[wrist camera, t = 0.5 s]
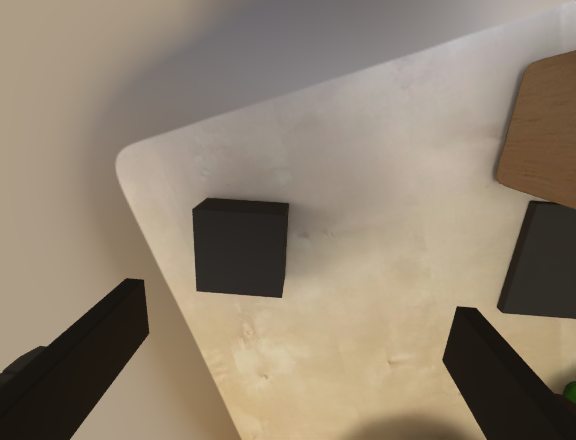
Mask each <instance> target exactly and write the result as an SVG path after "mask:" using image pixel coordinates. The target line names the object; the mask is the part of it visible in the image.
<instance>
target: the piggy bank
mask: <svg viewBox="0 0 576 440" xmlns="http://www.w3.org/2000/svg"><path fill="white" fill-rule="evenodd" d="M563 395H564V396H565V397H567V398H568V399H570V400H571V401H572V402H574V403H575V404H576V382H573V383H570V384H569V385H567V386H566V388H565V390H564V394H563Z"/></svg>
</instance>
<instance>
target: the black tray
mask: <svg viewBox="0 0 576 440" xmlns="http://www.w3.org/2000/svg"><path fill="white" fill-rule="evenodd" d="M497 308H498V309H499V310H500V311H501V312H502V313H508V314H520V315H533V316H546V317H559V318H572V319H576V209H573V208H570V207H567V206H564V205H561V204H558V203H555V202H539V201H530V203H529V206H528V209H527V212H526V216H525V219H524V222H523V225H522V229H521V232H520V235H519V238H518V241H517V245H516V248H515V251H514V254H513V257H512V261H511V264H510V267H509V270H508V273H507V277H506V280H505V283H504V286H503V289H502V293H501V296H500V299H499V302H498V305H497Z"/></svg>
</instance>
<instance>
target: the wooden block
mask: <svg viewBox="0 0 576 440" xmlns="http://www.w3.org/2000/svg"><path fill="white" fill-rule="evenodd" d="M497 181H498V182H499V183H500V184H502V185H504V186H506V187H509V188H512V189H515V190H518V191H521V192H524V193H527V194H530V195H533V196H536V197H539V198H542V199H545V200H548V201H551V202H555V203H558V204H561V205H564V206H567V207H570V208H573V209H576V50H575V51H572V52H568V53H564V54H560V55H556V56H553V57H549V58H545V59H542V60H539V61H536V62H533V63H532V64H530V65H529V66H528V68H527V69H526V71H525V73H524V75H523V78H522V82H521V86H520V89H519V93H518V97H517V100H516V104H515V108H514V111H513V115H512V119H511V122H510V126H509V130H508V134H507V137H506V141H505V145H504V148H503V152H502V156H501V159H500V163H499V167H498V170H497Z"/></svg>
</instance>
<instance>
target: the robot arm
mask: <svg viewBox="0 0 576 440" xmlns="http://www.w3.org/2000/svg"><path fill="white" fill-rule="evenodd" d="M148 334H149V325H148V316H147V306H146V296H145V287H144V280H141V279H129V278H127V279H125V280H124V281H123V282H121V283H120V284H119V285H118V286H117V287H116V288H114V289H113V290H112V291H111V292H110V293H109V294H107V295H106V296H105V297H104V298H103V299H102V300H101V301H99V302H98V303H97V304H96V305H95V306H94V307H93V308H91V309H90V310H89V311H88V312H87V313H85V314H84V315H83V316H82V317H81V318H80V319H79V320H77V321H76V322H75V323H74V324H73V325H72V326H70V327H69V328H68V329H67V330H66V331H65V332H63V333H62V334H61V335H60V336H59V337H58V338H56V339H55V340H54V341H53V342H52V343H51V344H50V345H49V346H47V347H44V346H39V347H37V348H35V349H33V350H31V351H30V352H28V353H26V354H24V355H22V356H20V357H19V358H18V359H16V360H15V361H14V362H13V363H12V364H10V365H9V366H8V367H7V368H5V369H4V370H3V372H2V373H1V374H0V440H70V439H71V437H72V436H73V435H74V433H75V432H76V431H77V429H78V428H79V427H80V425H81V424H82V423H83V421H84V420H85V418H86V417H87V416H88V414H89V413H90V412H91V411H92V409H93V408H94V407H95V405H96V404H97V403H98V401H99V400H100V399H101V397H102V396H103V394H104V393H105V392H106V390H107V389H108V388H109V387H110V385H111V384H112V382H113V381H114V380H115V379H116V377H117V376H118V374H119V373H120V372H121V370H122V369H123V368H124V366H125V365H126V363H127V362H128V361H129V360H130V358H131V357H132V356H133V354H134V353H135V352H136V350H137V349H138V348H139V346H140V345H141V344H142V342H143V341H144V340H145V338H146V337H147V336H148ZM442 361H443V363H444V364H445V366H446V368H447V370H448V371H449V373H450V375H451V377H452V379H453V380H454V382H455V384H456V386H457V387H458V389H459V391H460V393H461V394H462V396H463V398H464V400H465V402H466V403H467V405H468V407H469V409H470V410H471V412H472V414H473V416H474V417H475V419H476V421H477V423H478V425H479V426H480V428H481V430H482V432H483V433H484V435H485V437H486V439H487V440H576V404H575V403H574V402H572V401H571V400H570V399H568V398H567V397H565V396H564V395H559V394H554V393H553V392H552V391H551V390H550V389H549V388H548V387H547V386H546V385H545V383H544V382H543V381H542V380H541V379H540V378H539V377H538V376H537V375H536V374H535V372H534V371H533V370H532V369H531V368H530V367H529V366H528V365H527V364H526V363H525V361H524V360H523V359H522V358H521V357H520V356H519V355H518V354H517V353H516V351H515V350H514V349H513V348H512V347H511V346H510V345H509V344H508V343H507V342H506V340H505V339H504V338H503V337H502V336H501V335H500V334H499V333H498V332H497V331H496V329H495V328H494V327H493V326H492V325H491V324H490V323H489V322H488V321H487V319H486V318H485V317H484V316H483V315H482V314H481V313H480V312H479V311H478V310H477V308H471V307H459V306H457V308H456V312H455V315H454V319H453V323H452V326H451V330H450V334H449V337H448V341H447V345H446V348H445V352H444V356H443V359H442Z"/></svg>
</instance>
